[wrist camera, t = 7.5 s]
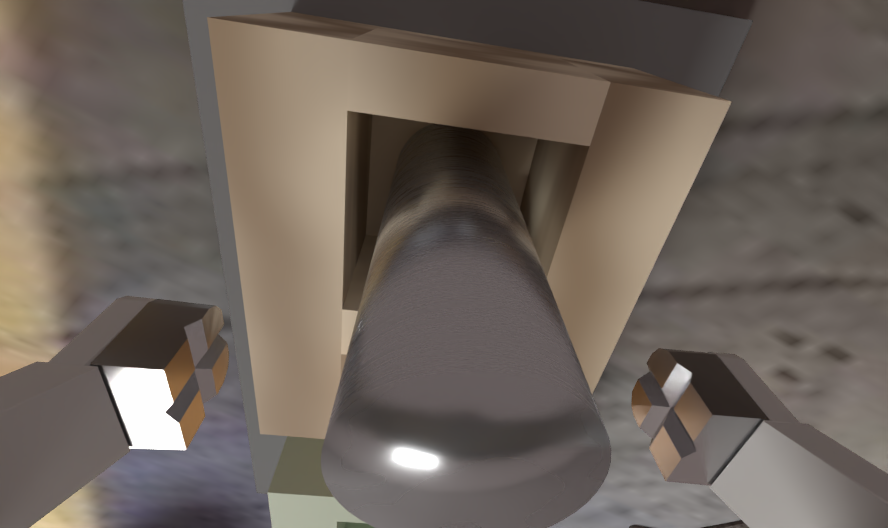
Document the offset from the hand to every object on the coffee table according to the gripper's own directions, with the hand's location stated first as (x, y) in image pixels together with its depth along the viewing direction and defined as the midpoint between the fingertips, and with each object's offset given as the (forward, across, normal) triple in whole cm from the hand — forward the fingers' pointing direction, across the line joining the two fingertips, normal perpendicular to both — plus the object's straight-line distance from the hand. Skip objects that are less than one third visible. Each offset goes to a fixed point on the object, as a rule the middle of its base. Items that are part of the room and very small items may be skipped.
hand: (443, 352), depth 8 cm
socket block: (+10, 0, +2) cm, 11 cm away
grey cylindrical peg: (+10, 0, 0) cm, 10 cm away
